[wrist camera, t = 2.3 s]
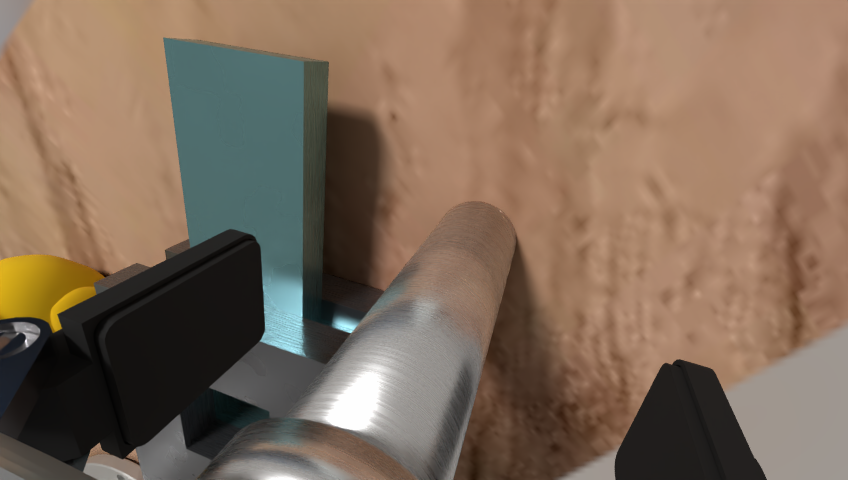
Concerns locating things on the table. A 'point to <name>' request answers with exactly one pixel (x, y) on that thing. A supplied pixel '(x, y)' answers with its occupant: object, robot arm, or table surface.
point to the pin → (395, 371)
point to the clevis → (254, 233)
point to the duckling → (43, 287)
